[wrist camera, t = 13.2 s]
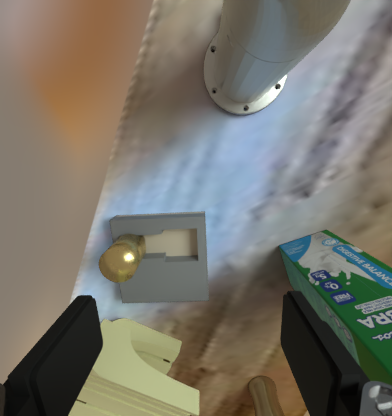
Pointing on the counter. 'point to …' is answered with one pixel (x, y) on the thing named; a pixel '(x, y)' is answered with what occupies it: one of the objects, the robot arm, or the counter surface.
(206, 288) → the board
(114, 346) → the slatted curved stool
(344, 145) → the counter surface
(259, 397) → the beer glass
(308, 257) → the milk carton
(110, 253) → the peg
